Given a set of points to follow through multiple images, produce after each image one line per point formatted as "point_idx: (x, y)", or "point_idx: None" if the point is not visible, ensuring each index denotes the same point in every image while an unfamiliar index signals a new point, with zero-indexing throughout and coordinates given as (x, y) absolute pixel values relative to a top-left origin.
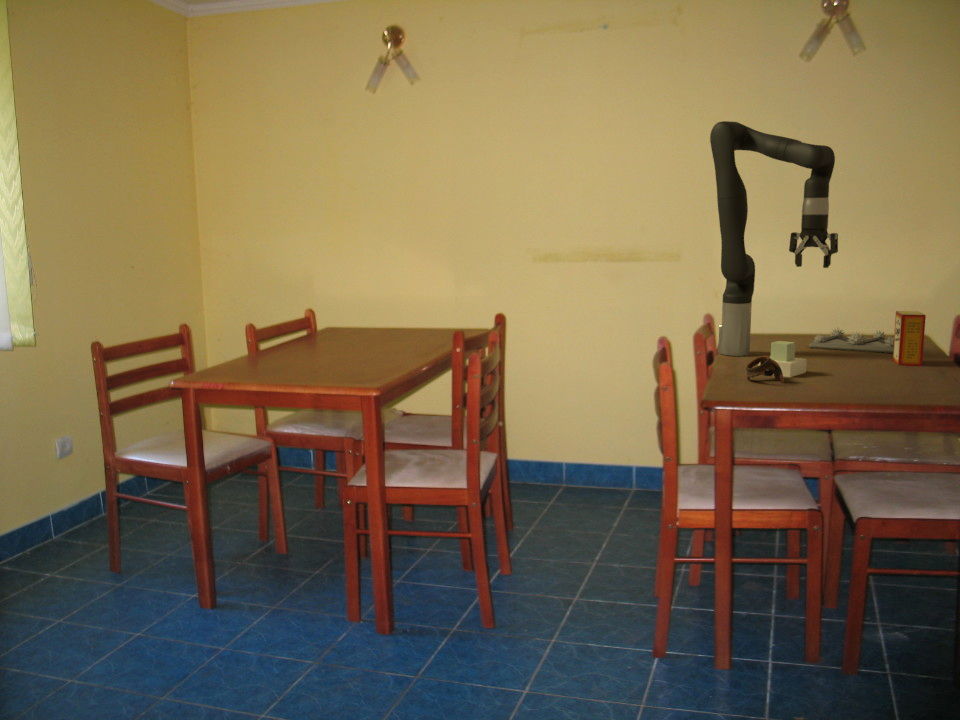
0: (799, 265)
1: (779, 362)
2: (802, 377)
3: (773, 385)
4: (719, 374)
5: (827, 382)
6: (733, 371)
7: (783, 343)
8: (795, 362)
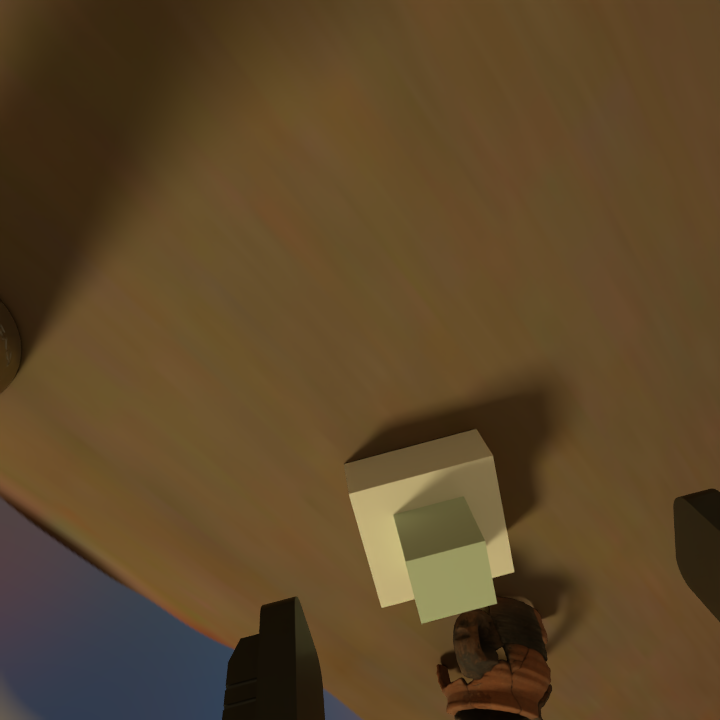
0: (314, 656)
1: None
2: (524, 505)
3: None
4: None
5: (631, 502)
6: None
7: (470, 599)
8: (507, 538)
